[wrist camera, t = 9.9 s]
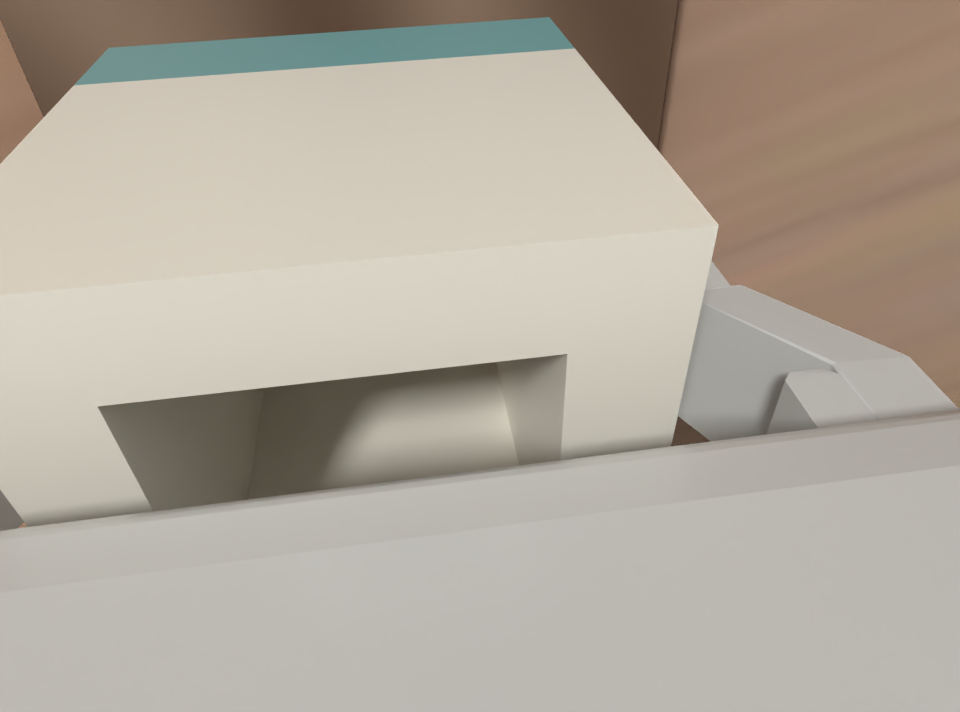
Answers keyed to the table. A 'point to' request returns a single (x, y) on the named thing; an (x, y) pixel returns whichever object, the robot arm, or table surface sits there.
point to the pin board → (336, 8)
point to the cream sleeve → (335, 270)
